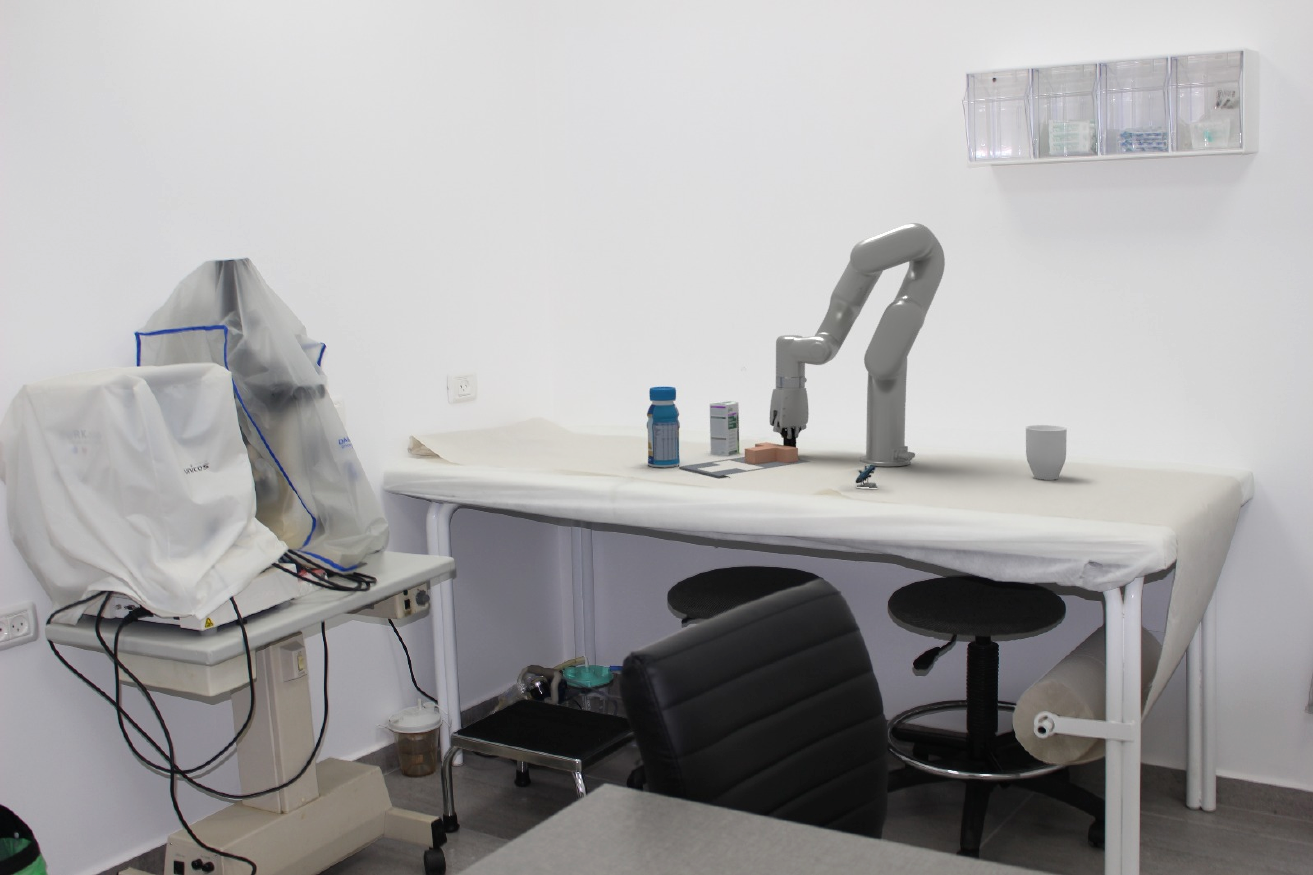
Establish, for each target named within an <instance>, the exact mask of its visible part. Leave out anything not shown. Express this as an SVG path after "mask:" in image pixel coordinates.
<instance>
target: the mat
mask: <svg viewBox="0 0 1313 875" xmlns="http://www.w3.org/2000/svg"><path fill="white" fill-rule="evenodd" d="M727 461H731V462H735V463H736V462H737V463H741V464H745V465H751V466H755V467H759V468H754V469H753V468H752V469H742V468H737V467H735V468H728V469H723V470H715V471H708V470H703V469H705V468H711V467H717V466H720V463H719V462H727ZM810 462H811V460H805V459H800V458H798V461H797V462H791V463H783V462H778V461H773V462H767V463H760V464H751V463H746V462H745V456H742V457H735V458H729V459H728V458H727V459H722V460H721V459H720V460H715V461H707V462H706V461H705V462H701V463H693V464H688V465H681V466H679V465H678V470H682V471H685V472H687V471H688V472H689V473H694V472H695V473H694V474H699V475H703V476H708V477H713V478H715V479H724V478H729V477H730V475H734V474H741V473H746V472H752V471H753V472H754V471H759V470H766V469H771V468H778V467H784V466H791V465H797V464H803V463H810ZM718 463H719V464H718ZM702 468H703V469H702Z"/></svg>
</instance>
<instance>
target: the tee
mask: <svg viewBox="0 0 1313 875" xmlns="http://www.w3.org/2000/svg"><path fill="white" fill-rule="evenodd" d="M744 457H745V462H746V463H751V464H760V463H767V462H773V461H778V462H783V463H791V462H797V461H798V459H799V447H797V446H796V447H790V446H784V445H783V444H778V443H773V442H767V441H766V442H760V443H758V442H757V443H754V447H747V448H744Z"/></svg>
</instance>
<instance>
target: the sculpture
mask: <svg viewBox="0 0 1313 875" xmlns="http://www.w3.org/2000/svg"><path fill="white" fill-rule="evenodd" d="M875 471H876V466H875V465H873V464H869V465H868V467H867V465H864V469H863V470H860V469H858V476H857V477H856V479H855V484H857V485H856V486H857V487H869V488H878V486H877V482H874V481H873V482H872V481H871V482H869V478H872V474H874V473H875Z"/></svg>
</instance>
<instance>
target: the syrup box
mask: <svg viewBox="0 0 1313 875" xmlns="http://www.w3.org/2000/svg"><path fill="white" fill-rule="evenodd" d="M739 408H740V407H739V402H738V401H731V400H730V401H727V400H726V401H725V400H721V401H718V402H712V403H710V404H709V433H710V437H709V438H710V455H713V456H723V457H730V456H734V455H737V454H740V425H739V424H740V420H739V419H740V417H739V413H740V412H739V410H740V409H739Z"/></svg>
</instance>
